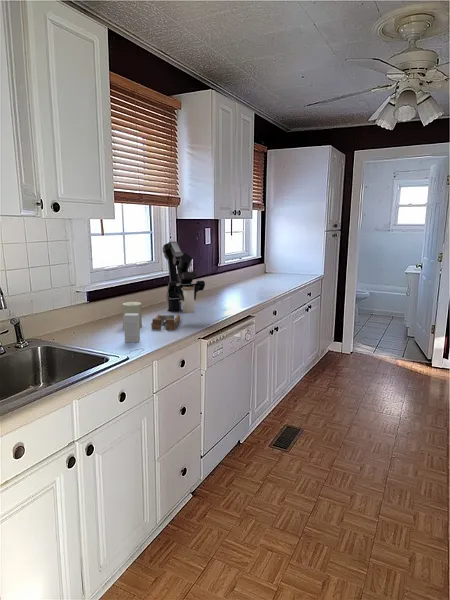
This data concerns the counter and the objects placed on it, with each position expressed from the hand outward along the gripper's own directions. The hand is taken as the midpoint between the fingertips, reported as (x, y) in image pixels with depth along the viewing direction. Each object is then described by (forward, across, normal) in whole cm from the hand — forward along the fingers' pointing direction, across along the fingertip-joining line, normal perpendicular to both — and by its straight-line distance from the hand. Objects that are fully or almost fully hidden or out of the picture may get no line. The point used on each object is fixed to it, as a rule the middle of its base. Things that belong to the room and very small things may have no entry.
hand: (189, 300), depth 209 cm
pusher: (+9, -12, +8) cm, 17 cm away
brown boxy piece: (+7, -11, +11) cm, 17 cm away
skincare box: (+24, -31, -6) cm, 40 cm away
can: (+6, -28, +12) cm, 31 cm away
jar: (+4, 0, +6) cm, 7 cm away
